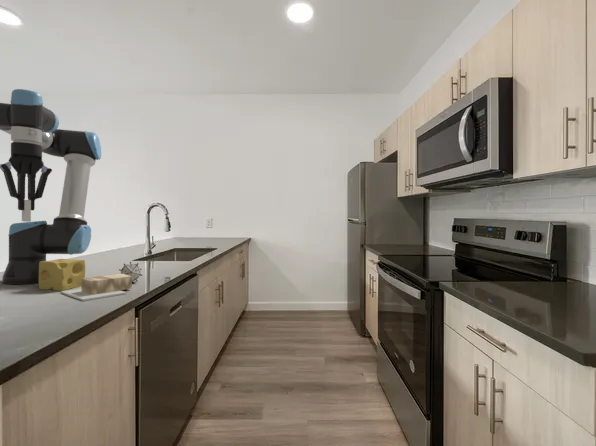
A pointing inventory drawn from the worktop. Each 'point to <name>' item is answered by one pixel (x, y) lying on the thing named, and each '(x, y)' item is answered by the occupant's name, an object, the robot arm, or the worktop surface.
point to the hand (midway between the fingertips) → (26, 221)
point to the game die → (131, 271)
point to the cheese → (61, 274)
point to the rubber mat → (84, 296)
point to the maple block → (106, 283)
